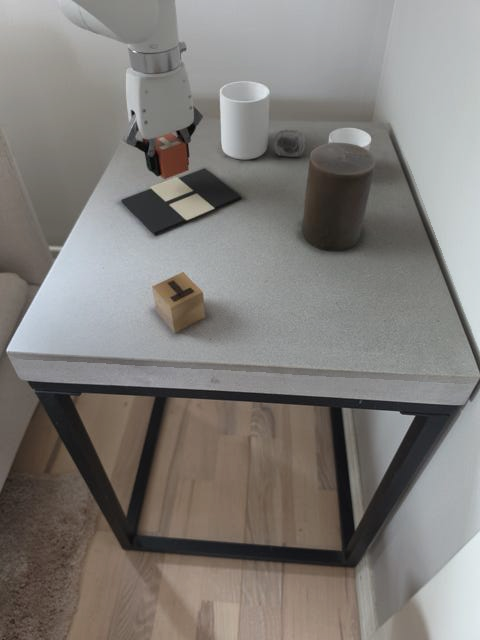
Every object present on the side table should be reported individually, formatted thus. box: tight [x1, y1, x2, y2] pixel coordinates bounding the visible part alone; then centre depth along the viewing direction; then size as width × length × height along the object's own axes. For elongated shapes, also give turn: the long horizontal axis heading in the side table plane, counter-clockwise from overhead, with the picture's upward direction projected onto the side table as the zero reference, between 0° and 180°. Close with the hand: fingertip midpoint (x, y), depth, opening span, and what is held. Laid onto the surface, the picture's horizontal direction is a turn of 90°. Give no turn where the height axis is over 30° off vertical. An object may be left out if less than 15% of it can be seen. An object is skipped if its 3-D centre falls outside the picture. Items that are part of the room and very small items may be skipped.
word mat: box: [121, 167, 242, 236], centre depth 87 cm, size 18×13×1 cm
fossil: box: [272, 129, 306, 158], centre depth 97 cm, size 6×3×5 cm, turn 89°
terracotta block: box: [155, 132, 189, 180], centre depth 84 cm, size 5×5×5 cm
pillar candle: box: [301, 142, 377, 252], centre depth 75 cm, size 10×10×15 cm
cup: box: [327, 127, 372, 151], centre depth 91 cm, size 8×10×7 cm
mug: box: [219, 80, 271, 161], centre depth 96 cm, size 10×12×12 cm
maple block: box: [151, 271, 206, 334], centre depth 67 cm, size 5×5×5 cm
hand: (169, 166), depth 86 cm, fingers closed on terracotta block, 5 cm apart
